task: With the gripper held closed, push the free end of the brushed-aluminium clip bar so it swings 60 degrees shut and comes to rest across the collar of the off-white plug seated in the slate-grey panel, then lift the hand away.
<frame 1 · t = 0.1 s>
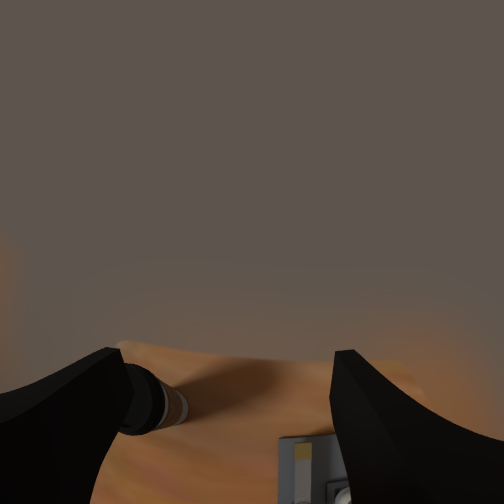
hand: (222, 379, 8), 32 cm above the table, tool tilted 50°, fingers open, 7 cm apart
clip: (302, 482, 25), point 4 cm above the table, hinge at 60.0°
coffee cup: (170, 407, 35), on the table
panel: (335, 482, 26), on the table
plug: (348, 496, 25), resting on panel
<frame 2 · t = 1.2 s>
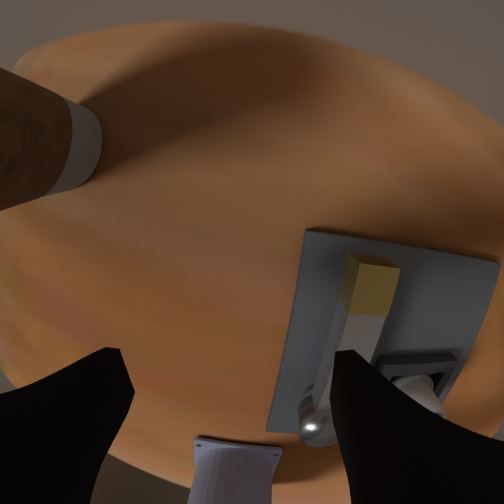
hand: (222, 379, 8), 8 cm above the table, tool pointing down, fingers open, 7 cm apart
clip: (344, 366, 13), point 3 cm above the table, hinge at 60.0°
coffee cup: (72, 148, 15), on the table
panel: (390, 354, 17), on the table
plug: (398, 384, 18), resting on panel
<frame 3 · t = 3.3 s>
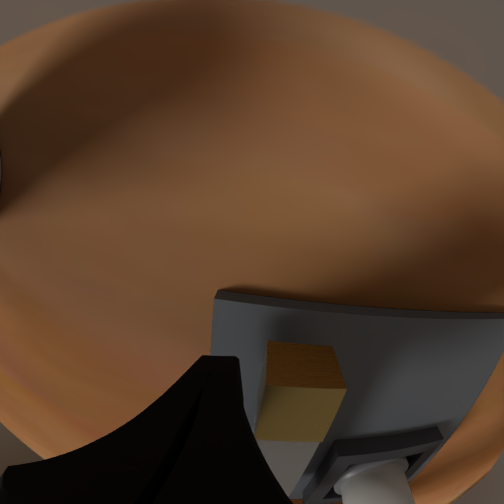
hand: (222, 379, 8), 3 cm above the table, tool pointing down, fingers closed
clip: (270, 471, 8), point 3 cm above the table, hinge at 60.0°, touching gripper
panel: (354, 433, 12), on the table
plug: (366, 457, 13), resting on panel
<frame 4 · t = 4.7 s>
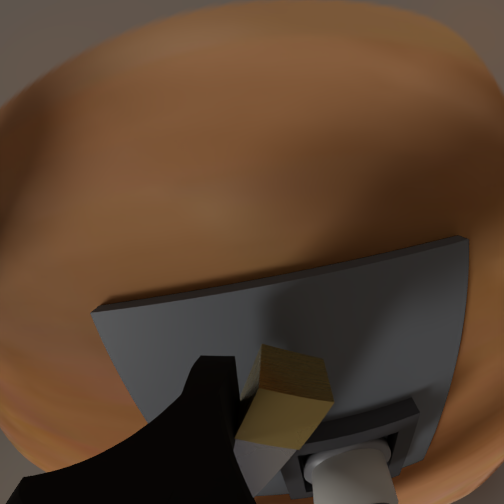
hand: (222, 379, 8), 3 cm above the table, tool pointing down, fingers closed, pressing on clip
clip: (239, 471, 9), point 4 cm above the table, hinge at 30.5°, touching gripper
panel: (303, 419, 12), on the table
plug: (342, 442, 12), resting on panel
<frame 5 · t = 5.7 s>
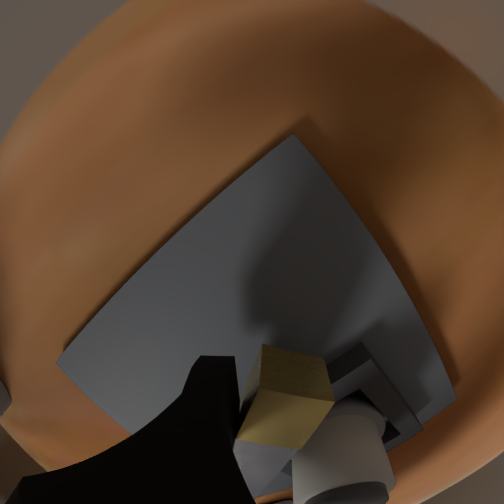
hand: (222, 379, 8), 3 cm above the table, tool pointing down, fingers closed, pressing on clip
clip: (241, 471, 9), point 3 cm above the table, hinge at 3.4°, touching gripper
panel: (260, 400, 12), on the table
plug: (329, 412, 12), resting on panel
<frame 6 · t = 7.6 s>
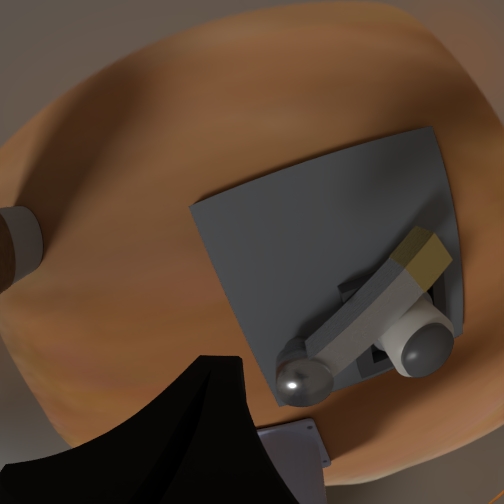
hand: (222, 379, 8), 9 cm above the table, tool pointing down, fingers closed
clip: (361, 323, 14), point 3 cm above the table, hinge at -2.1°
coffee cup: (25, 238, 18), on the table
panel: (357, 280, 17), on the table
plug: (391, 307, 17), resting on panel
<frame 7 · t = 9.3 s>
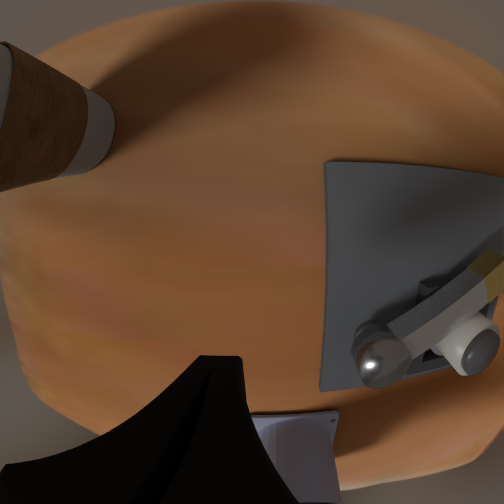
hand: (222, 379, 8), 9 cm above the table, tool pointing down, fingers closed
clip: (440, 317, 13), point 3 cm above the table, hinge at -2.1°
coffee cup: (84, 134, 16), on the table
panel: (429, 282, 17), on the table
plug: (442, 316, 17), resting on panel
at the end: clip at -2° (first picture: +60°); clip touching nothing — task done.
